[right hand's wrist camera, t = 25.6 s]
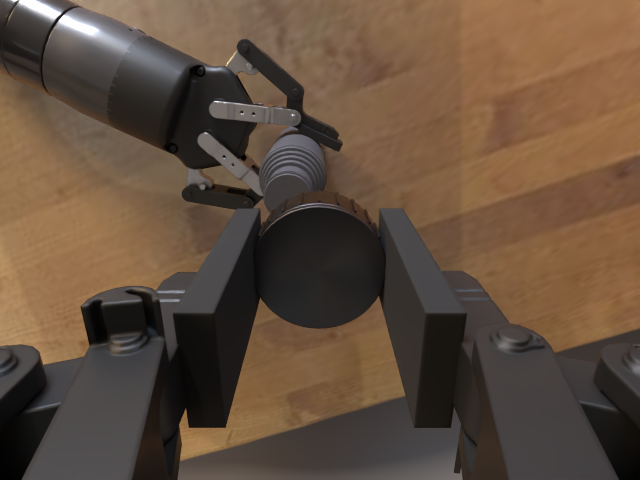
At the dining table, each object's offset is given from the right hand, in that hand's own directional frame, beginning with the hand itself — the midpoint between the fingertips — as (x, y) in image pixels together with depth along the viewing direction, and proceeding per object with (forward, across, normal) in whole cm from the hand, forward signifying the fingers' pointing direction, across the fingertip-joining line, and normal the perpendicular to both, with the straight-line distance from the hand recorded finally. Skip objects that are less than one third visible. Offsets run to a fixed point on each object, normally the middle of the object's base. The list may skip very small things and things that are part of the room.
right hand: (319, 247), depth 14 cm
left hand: (+22, 0, +2) cm, 22 cm away
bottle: (+28, +2, +1) cm, 29 cm away
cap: (-1, 0, 0) cm, 1 cm away
